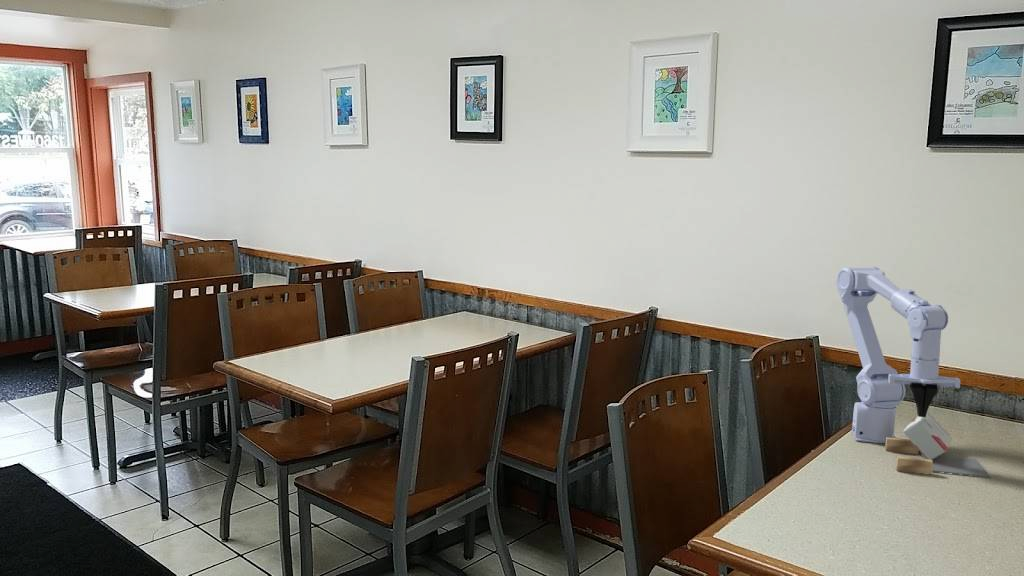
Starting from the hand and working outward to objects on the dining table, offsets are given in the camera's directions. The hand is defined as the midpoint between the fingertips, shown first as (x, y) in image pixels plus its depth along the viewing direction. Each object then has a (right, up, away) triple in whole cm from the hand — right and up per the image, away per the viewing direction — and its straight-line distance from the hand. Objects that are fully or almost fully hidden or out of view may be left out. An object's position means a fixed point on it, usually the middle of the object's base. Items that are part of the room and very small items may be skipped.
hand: (921, 415), depth 180 cm
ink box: (0, -6, -1) cm, 6 cm away
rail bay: (-3, -11, 0) cm, 11 cm away
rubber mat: (+6, -11, -3) cm, 13 cm away
